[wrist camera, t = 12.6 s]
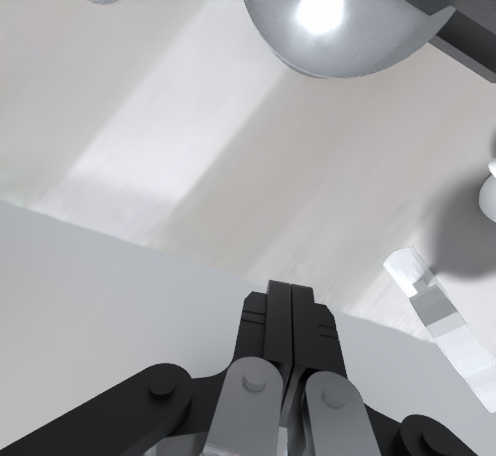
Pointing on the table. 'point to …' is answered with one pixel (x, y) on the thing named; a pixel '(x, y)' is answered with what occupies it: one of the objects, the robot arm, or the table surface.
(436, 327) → the heart sculpture
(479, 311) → the table surface
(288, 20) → the cooker lid
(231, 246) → the table surface
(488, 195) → the mug
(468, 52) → the cooker pot
